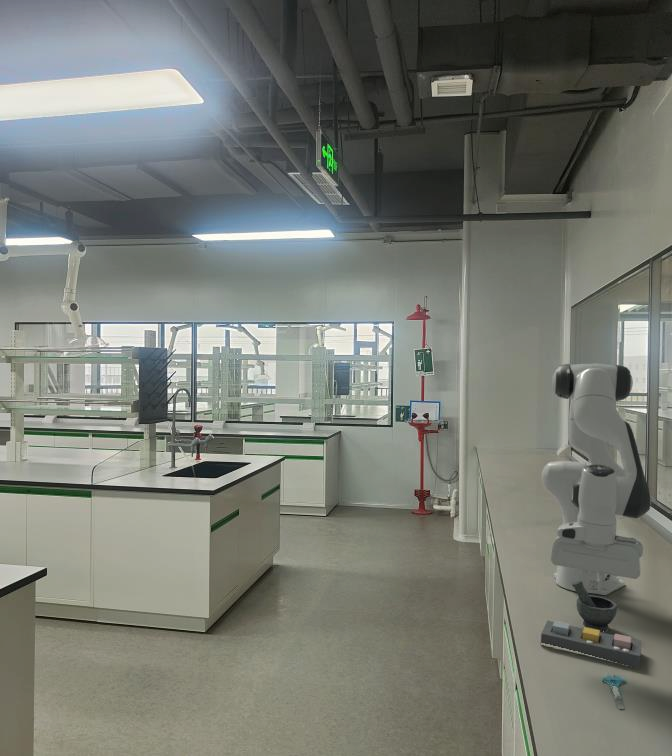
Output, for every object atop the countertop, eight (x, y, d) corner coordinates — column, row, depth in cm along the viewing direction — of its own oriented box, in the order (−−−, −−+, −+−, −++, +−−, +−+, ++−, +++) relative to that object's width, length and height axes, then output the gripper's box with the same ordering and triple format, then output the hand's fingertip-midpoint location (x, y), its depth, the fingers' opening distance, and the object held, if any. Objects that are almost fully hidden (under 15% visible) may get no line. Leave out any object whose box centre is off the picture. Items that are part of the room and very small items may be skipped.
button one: (582, 641, 154) (582, 632, 153) (583, 635, 157) (584, 626, 157) (598, 644, 152) (598, 635, 152) (599, 639, 155) (599, 630, 155)
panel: (540, 645, 156) (541, 632, 155) (546, 631, 164) (547, 619, 163) (639, 668, 145) (640, 655, 145) (640, 653, 153) (641, 640, 153)
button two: (613, 648, 150) (613, 639, 150) (614, 642, 153) (614, 633, 153) (629, 651, 149) (630, 642, 149) (630, 646, 152) (631, 637, 152)
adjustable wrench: (600, 672, 142) (624, 676, 140) (600, 676, 142) (624, 680, 140) (608, 704, 128) (635, 709, 127) (608, 709, 128) (634, 714, 127)
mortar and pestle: (614, 624, 170) (616, 580, 169) (616, 638, 161) (618, 592, 161) (570, 616, 174) (572, 573, 174) (569, 630, 165) (572, 585, 165)
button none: (552, 634, 157) (552, 625, 157) (554, 629, 160) (554, 620, 160) (567, 637, 155) (567, 628, 155) (569, 632, 158) (569, 623, 158)
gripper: (644, 536, 151) (641, 593, 152) (555, 523, 161) (552, 577, 161) (643, 542, 146) (640, 602, 146) (551, 529, 155) (548, 584, 156)
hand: (593, 589), depth 154 cm, fingers closed
